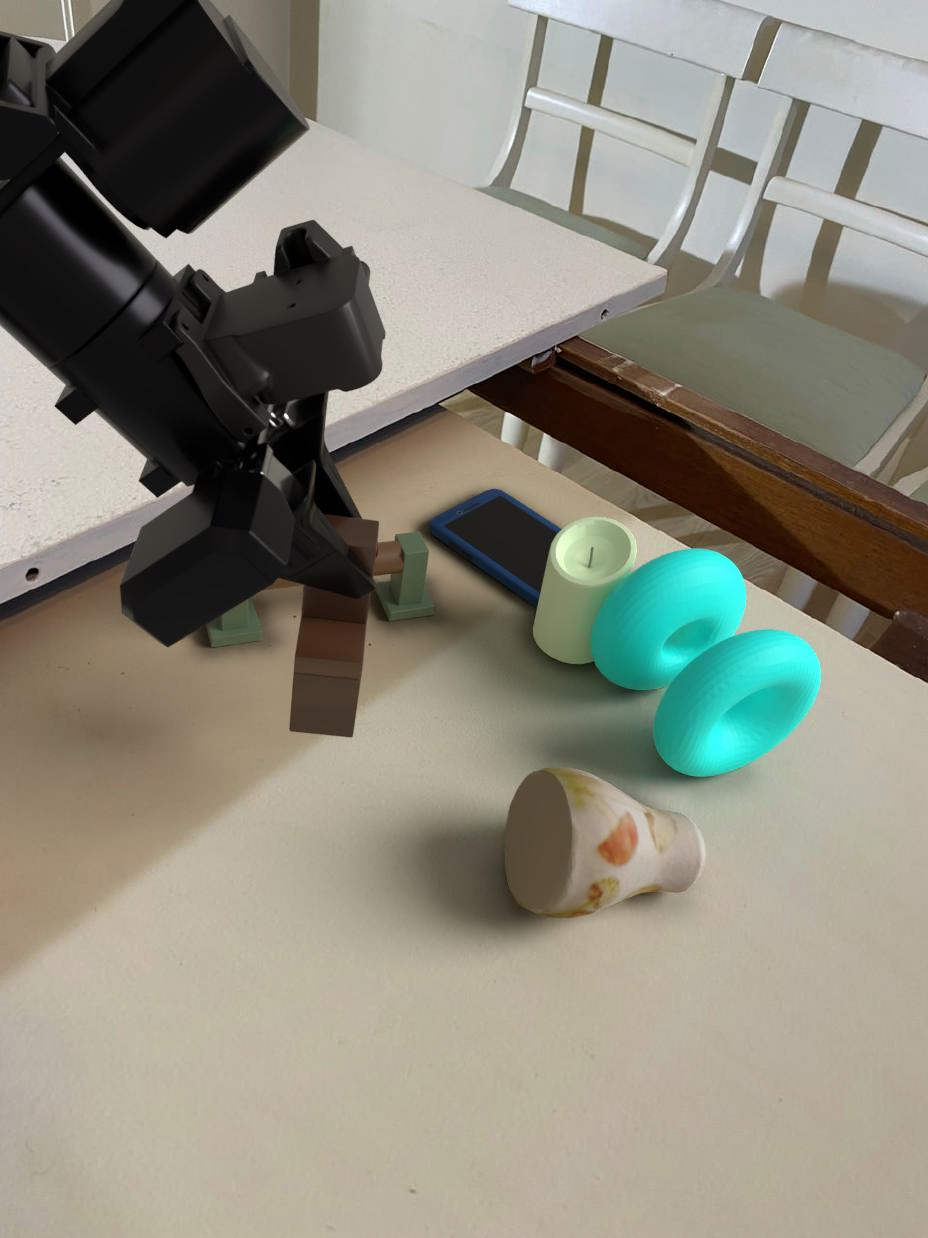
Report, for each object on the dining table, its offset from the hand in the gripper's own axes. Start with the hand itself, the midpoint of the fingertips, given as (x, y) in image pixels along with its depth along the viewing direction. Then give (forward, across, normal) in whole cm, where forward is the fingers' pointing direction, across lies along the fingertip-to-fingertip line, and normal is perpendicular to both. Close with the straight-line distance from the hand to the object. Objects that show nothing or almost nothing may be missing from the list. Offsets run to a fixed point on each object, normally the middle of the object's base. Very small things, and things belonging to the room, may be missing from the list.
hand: (369, 575), depth 47 cm
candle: (+19, +12, 0) cm, 22 cm away
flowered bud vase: (+19, -6, 0) cm, 20 cm away
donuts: (+23, +6, -4) cm, 24 cm away
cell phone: (+18, +20, +1) cm, 26 cm away
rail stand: (+8, +12, +11) cm, 18 cm away
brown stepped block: (+4, 0, +6) cm, 7 cm away
